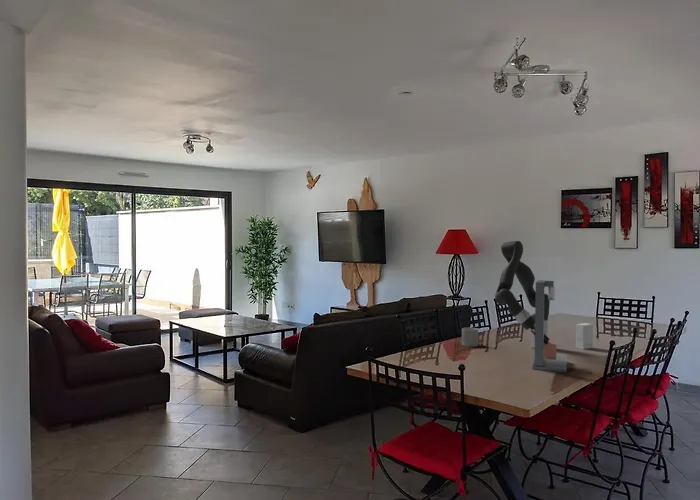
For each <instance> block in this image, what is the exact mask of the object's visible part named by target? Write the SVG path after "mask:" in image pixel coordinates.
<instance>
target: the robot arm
mask: <svg viewBox="0 0 700 500" xmlns="http://www.w3.org/2000/svg"><path fill="white" fill-rule="evenodd" d="M500 247H501V248H500V250H501V254H502V256H503V258H505V260H506V262H507V263H508V264H507V265H506V266H505V267H504V269H502V272H501V274H500V278H499V284H498V287H497V289H496V292H495V294H494V295H495V296H494V299H495V303H496V304H498V305H500V306H503V305H505V304H506V305H507V307H508V308H507V311H508V312H509V313H510V315H512V317H513V318H514V319H515V321H517V322H518V323H519V324H520V325H521V327H523V328H524V329H525V331H528V330H530V332H531V348H532V349H533V348H534V349H535V313H533V314H531V313H530V312H529V311H527V310H526V309H525V308H524V307H523V306H522V304H520V303H519V301H518V300H517V298H516V296H515V295H514V294H513V292H512V291H511V289H512V287H513V285H514V279H515V276H516V278H517V280H518V282H519V284H520V285H521V288H522V290H523V292H524V294H525V296H526V299H527V301H528V303H529V305H530V307H532V308H535V300H536V289H534V285H535V280H536V277H535V275H534V273H533V271H532V269H531V267H530V266H528V265H527V264H526V263H524V262H522V261H521V259H522V256H523V253H524V245H523V243H522V242H521V241H520V240H511V241H505V242H503V243H502V244H501V245H500ZM550 302H551V300H548V294H547V293H544V344H545V345H546V344H548V343H549V342H550V338H549V336H548V335H549V334H548V333H549V329H548V328H549V314H550Z"/></svg>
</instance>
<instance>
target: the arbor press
mask: <svg viewBox="0 0 700 500" xmlns="http://www.w3.org/2000/svg"><path fill="white" fill-rule="evenodd" d="M554 284H555V282H554V280H539V279H538V280H536V282H535V292H536V300H535V312H534V314H535V348H534V356H533V363H532V367H531V368H532V370H538V371H547V372H549V371H550V372H557V373H567V371H568V370H567V368H568V354H561V353H556V358H551V357H544V294H545V288H548V292H547V293H548V294H547V295H548V300H550V301H555V296H556V295H555V293H556V291H555V290H556V289H555V285H554Z"/></svg>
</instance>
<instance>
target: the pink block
mask: <svg viewBox="0 0 700 500" xmlns="http://www.w3.org/2000/svg"><path fill="white" fill-rule="evenodd" d="M548 342H549V343H548V344H546V345H545V344H544V357H551V358H556V354H557V342H552V341H548Z"/></svg>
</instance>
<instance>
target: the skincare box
mask: <svg viewBox="0 0 700 500" xmlns="http://www.w3.org/2000/svg"><path fill="white" fill-rule="evenodd" d="M593 329H594V324H592V323H588V322H582V323H576V324H575V348H576V349H579V350H588V349H592V348H593V334H594V332H593V331H594V330H593Z"/></svg>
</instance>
